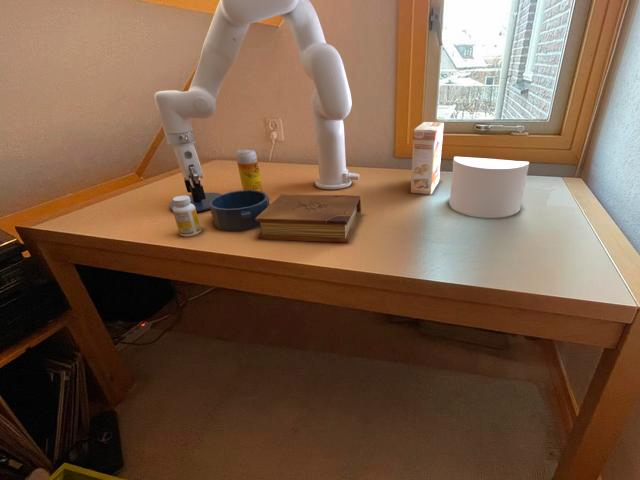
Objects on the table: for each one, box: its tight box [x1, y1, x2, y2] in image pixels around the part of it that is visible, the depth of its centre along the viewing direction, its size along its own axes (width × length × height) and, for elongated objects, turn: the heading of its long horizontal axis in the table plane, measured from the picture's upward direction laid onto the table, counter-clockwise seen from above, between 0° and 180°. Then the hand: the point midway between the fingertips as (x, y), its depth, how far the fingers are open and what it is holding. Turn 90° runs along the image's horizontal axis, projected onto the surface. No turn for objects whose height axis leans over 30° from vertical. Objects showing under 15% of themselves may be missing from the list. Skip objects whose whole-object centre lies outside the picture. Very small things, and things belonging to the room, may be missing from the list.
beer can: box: [235, 148, 264, 192], centre depth 116 cm, size 6×6×15 cm
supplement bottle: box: [172, 194, 202, 238], centre depth 95 cm, size 5×5×10 cm
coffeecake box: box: [410, 121, 445, 195], centre depth 119 cm, size 15×7×20 cm, turn 160°
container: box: [448, 155, 530, 219], centre depth 105 cm, size 20×20×13 cm
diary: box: [255, 193, 362, 243], centre depth 98 cm, size 23×19×6 cm
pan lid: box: [168, 185, 223, 212], centre depth 114 cm, size 16×16×6 cm
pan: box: [209, 189, 271, 232], centre depth 103 cm, size 16×21×6 cm
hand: (196, 195), depth 115 cm, fingers open, 9 cm apart
